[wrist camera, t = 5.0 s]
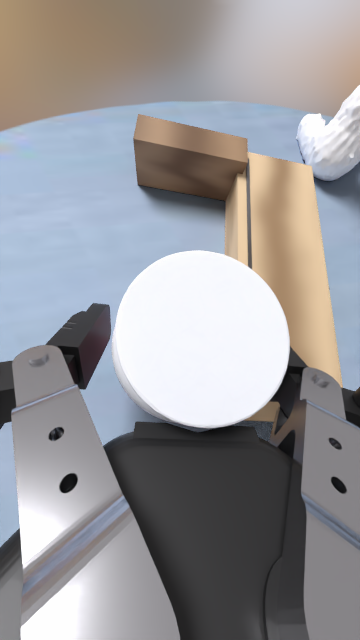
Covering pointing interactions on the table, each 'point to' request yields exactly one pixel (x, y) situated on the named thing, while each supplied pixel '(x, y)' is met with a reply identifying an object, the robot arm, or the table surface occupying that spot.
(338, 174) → the seated beast figurine
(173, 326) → the pill bottle
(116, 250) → the table surface
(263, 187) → the wooden l-shaped block
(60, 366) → the robot arm
